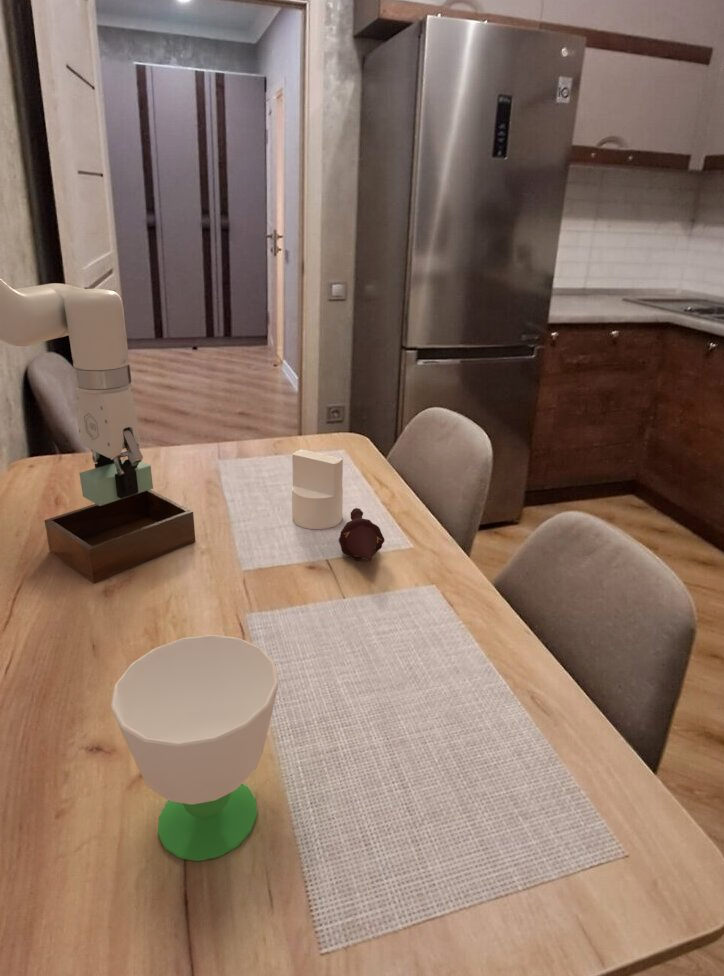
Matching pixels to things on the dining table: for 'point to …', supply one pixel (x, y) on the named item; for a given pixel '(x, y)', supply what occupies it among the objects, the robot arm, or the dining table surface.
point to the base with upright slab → (316, 489)
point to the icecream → (360, 537)
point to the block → (111, 482)
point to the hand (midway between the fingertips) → (118, 489)
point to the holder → (119, 534)
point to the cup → (199, 736)
